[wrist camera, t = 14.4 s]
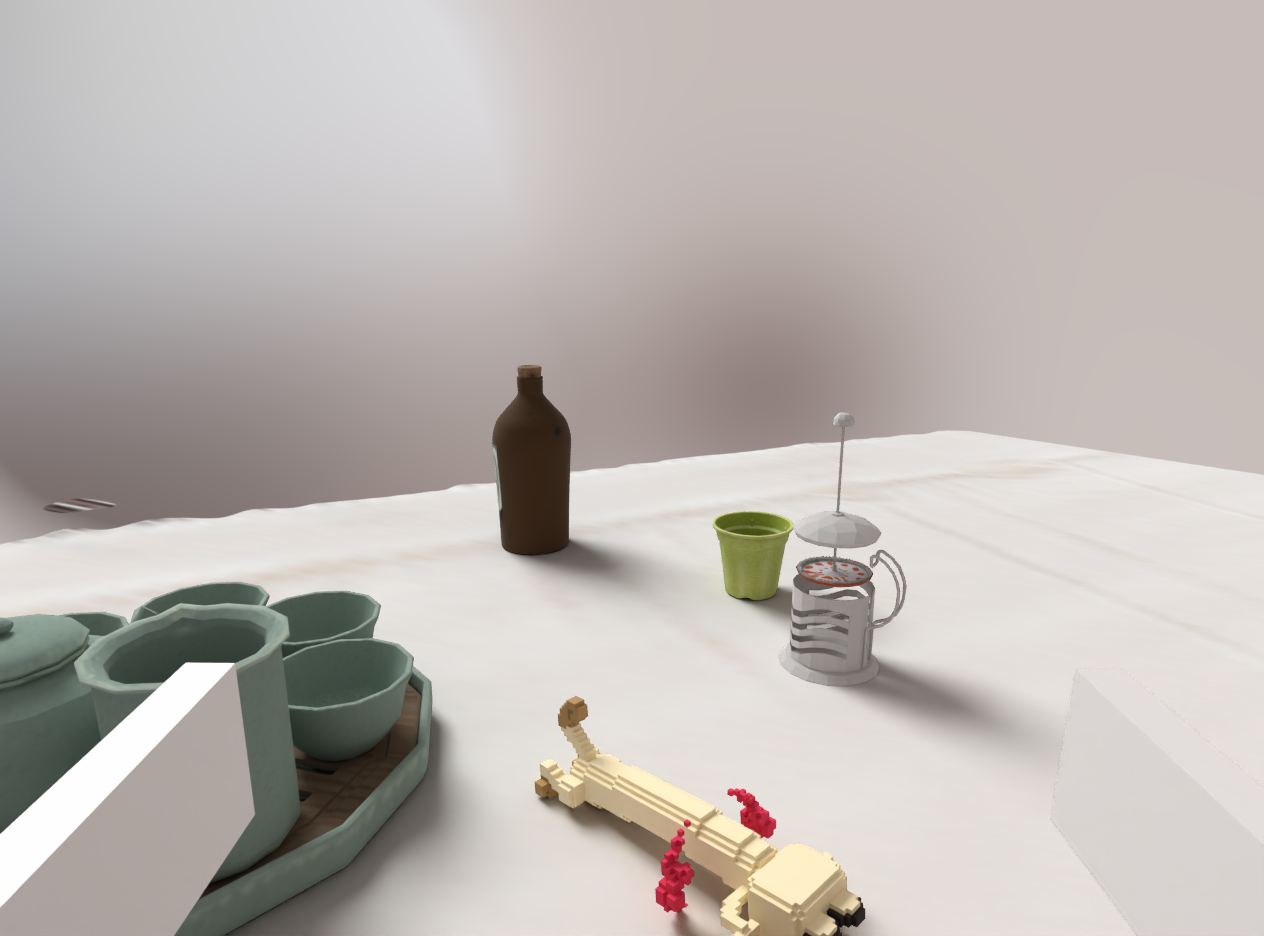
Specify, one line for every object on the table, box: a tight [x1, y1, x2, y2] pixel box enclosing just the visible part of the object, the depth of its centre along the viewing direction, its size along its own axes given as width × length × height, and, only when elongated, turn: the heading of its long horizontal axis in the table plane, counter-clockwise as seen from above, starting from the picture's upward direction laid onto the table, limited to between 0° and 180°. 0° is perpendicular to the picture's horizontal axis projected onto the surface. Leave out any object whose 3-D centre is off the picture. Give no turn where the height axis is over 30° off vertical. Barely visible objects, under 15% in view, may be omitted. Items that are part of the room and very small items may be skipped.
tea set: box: [0, 582, 432, 936], centre depth 60 cm, size 40×40×16 cm
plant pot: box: [713, 511, 794, 600], centre depth 95 cm, size 9×9×9 cm
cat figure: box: [535, 696, 865, 936], centre depth 52 cm, size 10×9×25 cm
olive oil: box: [492, 365, 571, 555], centre depth 110 cm, size 11×11×25 cm
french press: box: [778, 413, 906, 686], centre depth 76 cm, size 10×12×25 cm
